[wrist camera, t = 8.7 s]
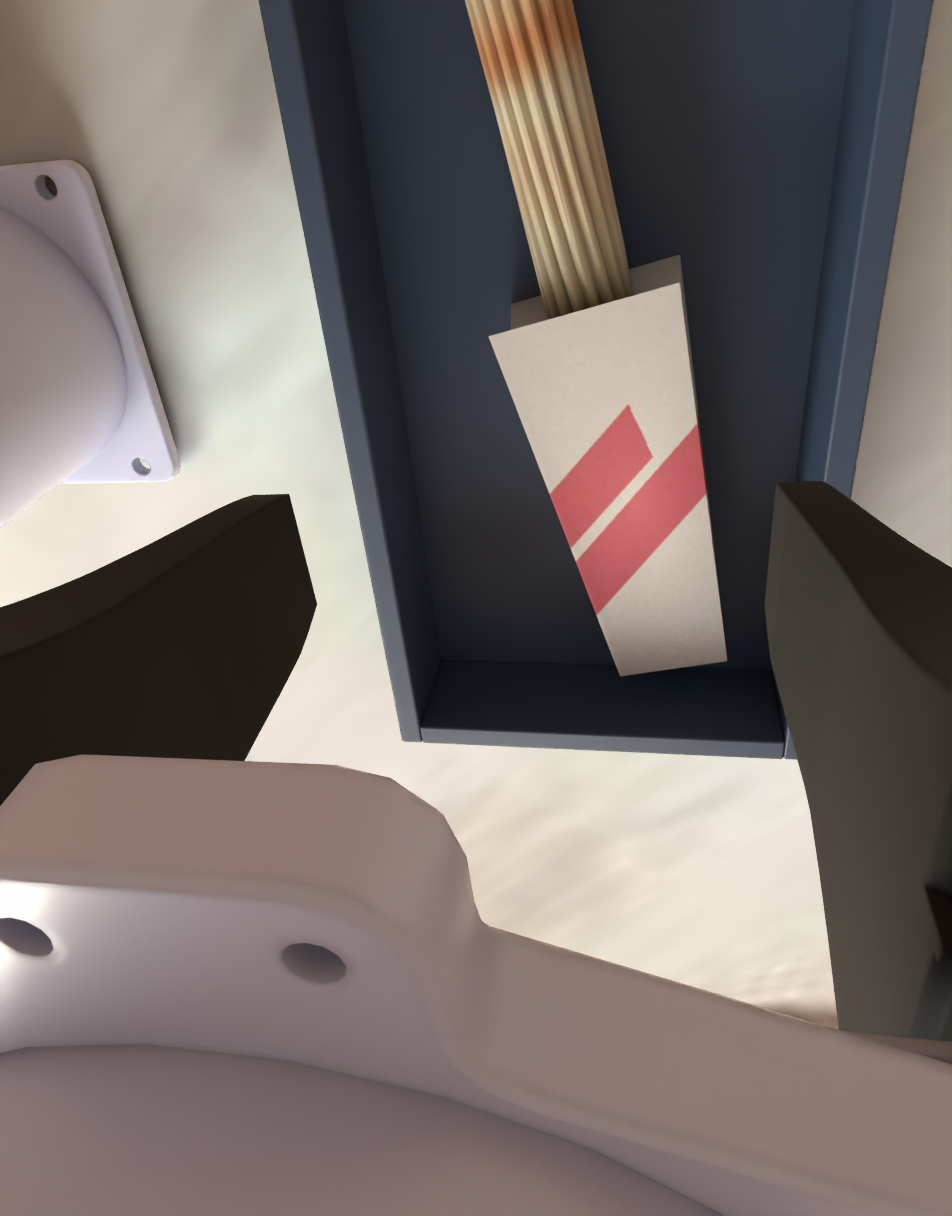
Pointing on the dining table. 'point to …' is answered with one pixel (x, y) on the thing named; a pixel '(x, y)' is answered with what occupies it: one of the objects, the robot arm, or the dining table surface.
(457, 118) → the tray
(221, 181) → the dining table surface
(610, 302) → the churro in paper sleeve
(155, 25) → the dining table surface
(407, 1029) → the robot arm
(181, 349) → the dining table surface
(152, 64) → the dining table surface
